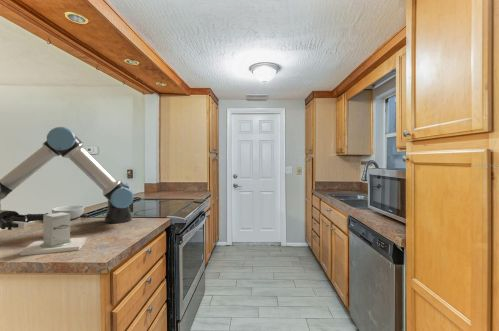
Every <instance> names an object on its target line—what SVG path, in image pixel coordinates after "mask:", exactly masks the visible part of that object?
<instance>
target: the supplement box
mask: <svg viewBox="0 0 499 331" xmlns="http://www.w3.org/2000/svg"><path fill="white" fill-rule="evenodd" d="M45 214H46V213H45ZM42 221H43V228H42V230H43V231H42V232H43V234H42V235H43V238H42V241H43V244H46V245H49V246H54V245H58V244H63V243H68V242H70V239H71V220H70V214H68V213H63V212H60V213H53V214H52V213H48V214H46V215H43V220H42Z"/></svg>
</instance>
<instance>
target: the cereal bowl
mask: <svg viewBox="0 0 499 331" xmlns="http://www.w3.org/2000/svg"><path fill="white" fill-rule="evenodd" d="M84 210H85V207H84V206H83V205H65V206H64V205H63V206H57V207H53V208H51V214H53V213H60V212H63V213H68V214H70V221H71V220H75V219H76V218H78V217H80V216H81V215H83V213H84Z"/></svg>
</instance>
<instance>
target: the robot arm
mask: <svg viewBox="0 0 499 331" xmlns="http://www.w3.org/2000/svg"><path fill="white" fill-rule="evenodd" d="M60 156H61V157H62V158H65V159H69V160H70V161H71V163H73V165H75V166H76V167H77V168H78V169H79V170H81V171H82V173H84V174H85V176H86V177H88V178H89V179H90V180H91V181H92V182H93V183H94V184H95V185H96V186H97V187H98V188H99V189H101V191H102V195H103V197H105V199H107V211H106V213H105V216H104V223H107V224H120V223H126V222H130V221H132V220H133V219H132V218H133V215H132V213H131V210H130V206H131V204H132V203H133V201H134V193H133V191H132V190H131V189H130V186H129V183H125V182H122V181H121V180H120V179H119V180H116V179H115V178H114V176H112V175H111V174H110V173H109V172H108V171H107V170H106V169H105V168H104V167H103V165H101V164H100V163H99V162H98V161H97V160H96V159H95V158H94V157H93V156H92V155H91V154H90V153H89V152H88V150H86V149H85V148H84V143H83V142H82V141H81V139H79V138H78V137H77V136H76V135H75V133H74V132H73V131H72V129H70V128H68V127H65V126H57V127H54V128H52V129H51V130H50V131H48V133H47V135H46V141H44V142H43V143H42V146H41V147H40V148H39V149H37V150H36V151H35V152H34V153H33V154H31V155H29V157H27V158H26V159H24V161H22V162H21V163H20V164H19V165H17V166H16V167H14V168H13V169H12V170H10V171H9V172H8V173H7V174H5V175H4V176H3V177H2V178H1V179H0V201H1V200H4V199H5V198H6V197H7V196H8V195H9V194H10V193H12V192H13V191H14V190H15V189H17V188H18V187H19V186H20V185H21V184H22V183H24V182H25V181H26V180H28V179H29V178H30V177H32V176H33V175H34V174H35V173H36V172H37V171H39V170H40V169H41V168H42V167H44V166H45V165H46V164H48V163H49V162H50V161H51V160H52V159H54V158H55V157H60ZM0 208H2V207H1V204H0ZM46 214H49V212H46V213H35V214H34V213H32V214H31V213H27V214H20V213H18V211H15V210H6V209H5V210H4V209H0V229H1V230H6V229H7V231H12V229H19V230H26V229H27V223H29V222H38V221H39V222H40V221H43V215H46Z"/></svg>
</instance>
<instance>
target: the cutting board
mask: <svg viewBox="0 0 499 331" xmlns="http://www.w3.org/2000/svg"><path fill="white" fill-rule="evenodd" d="M86 241H87V236H85V237H72V238H71V237H70V242H68V243H63V244H58V245H54V246H49V245H46V244H43V240H35V241H33V242H31V243H30V244H28V245H27V246H26V247H24V248H23V249H21V251H19V256H30V255H41V254H42V255H43V254H51V253H62V252H72V251H79V250H80V249H82V247H83V245H84V244H85V243H86Z"/></svg>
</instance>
